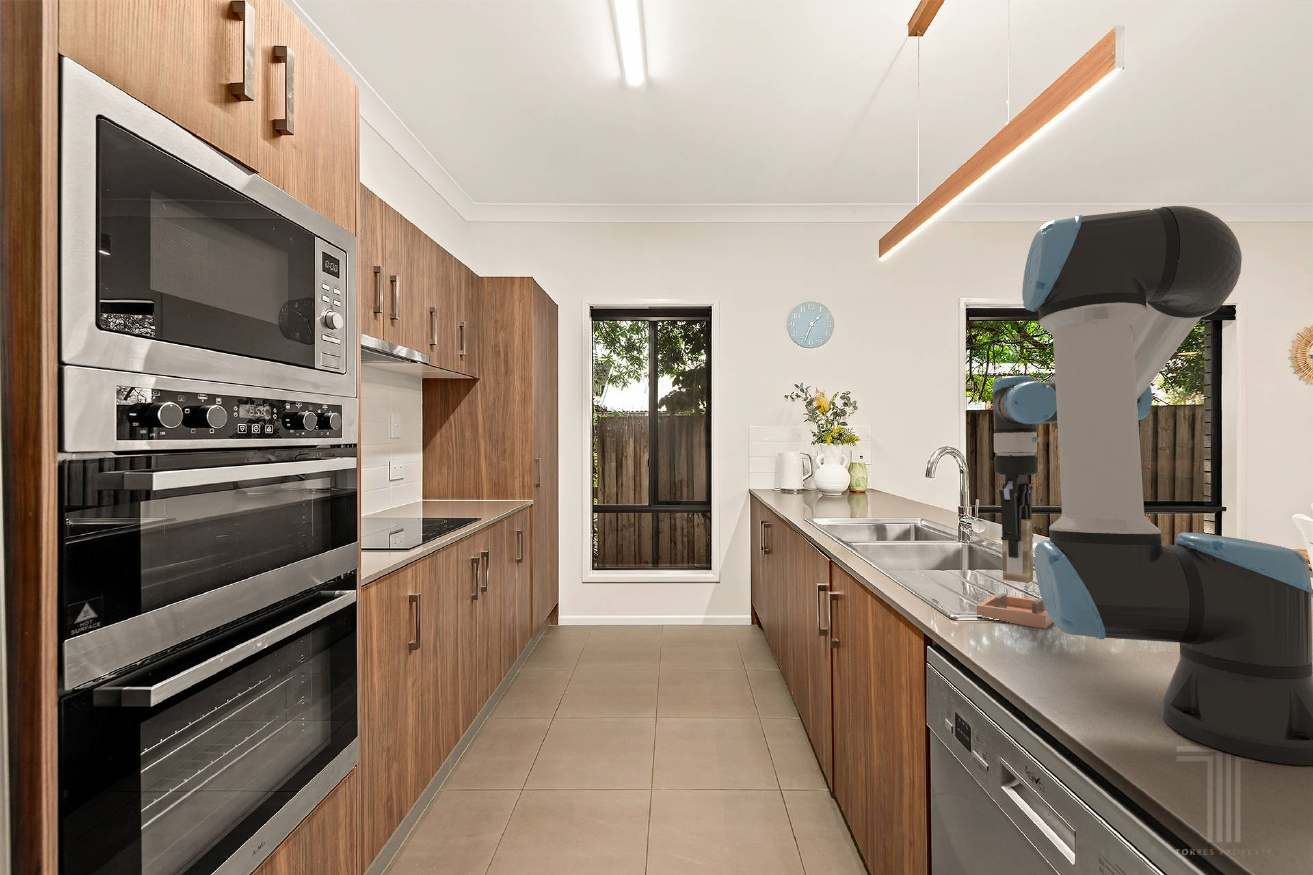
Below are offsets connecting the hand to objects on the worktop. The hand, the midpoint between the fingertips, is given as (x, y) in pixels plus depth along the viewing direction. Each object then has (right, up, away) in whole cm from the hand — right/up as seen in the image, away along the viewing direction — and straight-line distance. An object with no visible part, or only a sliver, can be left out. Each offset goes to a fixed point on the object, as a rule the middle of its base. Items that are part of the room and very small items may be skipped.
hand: (1018, 571), depth 127 cm
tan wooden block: (0, -2, 0) cm, 2 cm away
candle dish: (0, -9, 0) cm, 9 cm away
